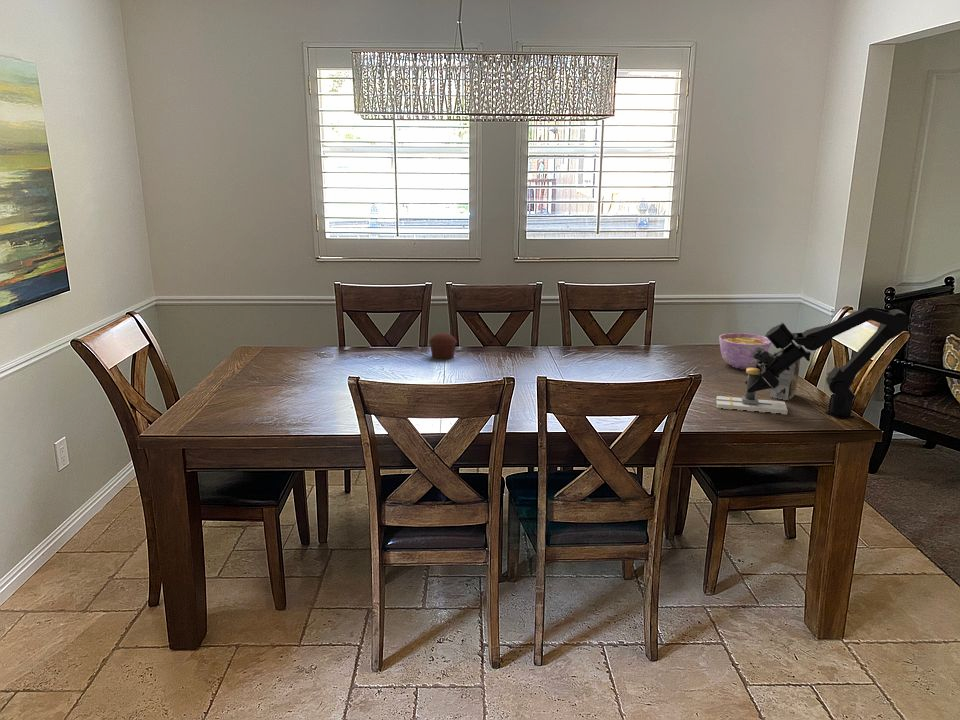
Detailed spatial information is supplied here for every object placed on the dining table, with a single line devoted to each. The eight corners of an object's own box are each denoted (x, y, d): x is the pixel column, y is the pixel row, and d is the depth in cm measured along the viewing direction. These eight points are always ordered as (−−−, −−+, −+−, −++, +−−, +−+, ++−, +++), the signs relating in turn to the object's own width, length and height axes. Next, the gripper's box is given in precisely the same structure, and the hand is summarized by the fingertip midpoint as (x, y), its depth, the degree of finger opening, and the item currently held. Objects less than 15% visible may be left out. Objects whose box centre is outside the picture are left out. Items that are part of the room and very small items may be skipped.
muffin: (424, 358, 304) (424, 335, 301) (435, 352, 314) (435, 329, 311) (451, 361, 300) (450, 337, 297) (461, 355, 310) (461, 332, 307)
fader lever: (757, 400, 248) (760, 368, 245) (758, 404, 244) (761, 371, 241) (741, 399, 250) (744, 367, 247) (742, 403, 245) (745, 370, 242)
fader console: (784, 405, 249) (784, 401, 248) (787, 414, 240) (787, 409, 240) (714, 399, 254) (715, 395, 254) (715, 408, 246) (715, 403, 246)
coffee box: (777, 391, 264) (783, 348, 260) (796, 394, 260) (802, 351, 256) (769, 397, 258) (774, 353, 253) (788, 401, 254) (793, 356, 249)
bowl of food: (708, 360, 304) (711, 333, 301) (755, 359, 306) (758, 332, 303) (728, 373, 285) (730, 345, 282) (777, 373, 287) (781, 344, 284)
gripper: (766, 334, 249) (729, 362, 255) (772, 347, 231) (732, 377, 237) (788, 358, 249) (751, 386, 255) (796, 373, 231) (755, 403, 237)
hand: (746, 387), depth 246 cm, fingers open, 9 cm apart
